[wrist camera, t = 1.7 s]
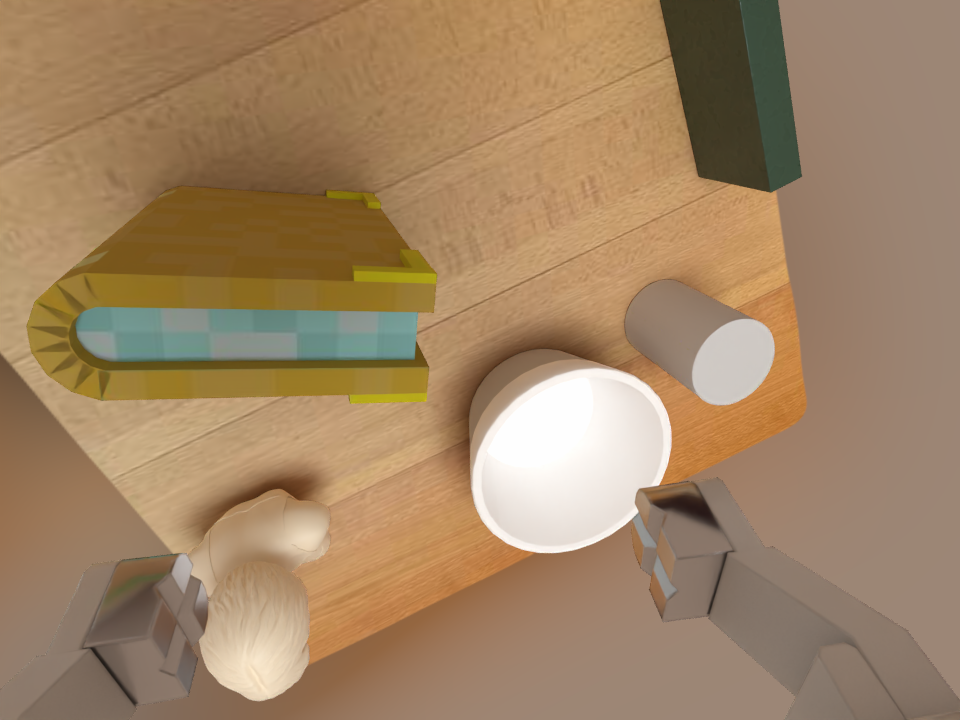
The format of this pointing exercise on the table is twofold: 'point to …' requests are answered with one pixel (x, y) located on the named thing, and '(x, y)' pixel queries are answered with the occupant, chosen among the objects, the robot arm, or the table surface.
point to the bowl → (563, 449)
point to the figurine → (259, 591)
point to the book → (241, 302)
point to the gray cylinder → (700, 341)
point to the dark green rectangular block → (735, 90)
